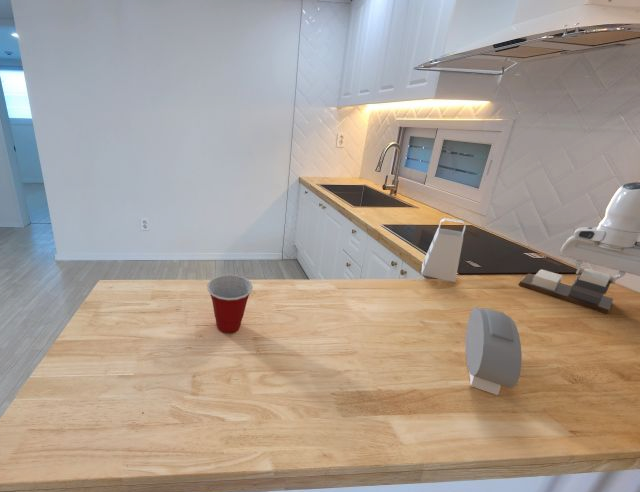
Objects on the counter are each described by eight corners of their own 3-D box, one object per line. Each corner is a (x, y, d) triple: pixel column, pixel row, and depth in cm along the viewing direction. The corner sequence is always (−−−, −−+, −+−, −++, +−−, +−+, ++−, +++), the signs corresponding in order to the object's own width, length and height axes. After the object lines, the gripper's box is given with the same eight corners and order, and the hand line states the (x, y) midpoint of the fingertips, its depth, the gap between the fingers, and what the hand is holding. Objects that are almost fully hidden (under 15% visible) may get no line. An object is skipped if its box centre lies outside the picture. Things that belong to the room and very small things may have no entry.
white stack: (559, 283, 116) (563, 275, 115) (554, 291, 110) (558, 282, 109) (537, 276, 120) (540, 268, 119) (530, 283, 115) (534, 275, 113)
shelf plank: (610, 302, 108) (613, 298, 108) (607, 314, 101) (609, 309, 100) (526, 276, 124) (528, 273, 123) (518, 285, 116) (519, 281, 116)
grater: (421, 264, 129) (436, 214, 121) (453, 271, 124) (470, 219, 117) (421, 274, 120) (436, 221, 112) (455, 282, 116) (473, 227, 108)
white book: (608, 279, 107) (611, 274, 106) (605, 287, 101) (607, 282, 100) (583, 272, 111) (585, 267, 110) (578, 279, 105) (580, 274, 105)
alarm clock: (505, 408, 64) (531, 354, 59) (468, 395, 67) (489, 342, 62) (490, 344, 83) (509, 299, 78) (461, 336, 86) (478, 292, 81)
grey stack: (602, 296, 109) (611, 279, 107) (599, 305, 103) (608, 288, 100) (572, 287, 114) (580, 271, 112) (567, 295, 108) (575, 278, 106)
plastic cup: (197, 332, 81) (198, 288, 76) (218, 311, 90) (220, 270, 86) (238, 346, 77) (241, 300, 72) (256, 322, 86) (259, 281, 82)
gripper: (667, 245, 95) (643, 288, 101) (572, 226, 110) (554, 264, 115) (667, 250, 92) (642, 294, 97) (568, 229, 106) (551, 269, 111)
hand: (594, 278), depth 106 cm, fingers closed on white book, 6 cm apart
